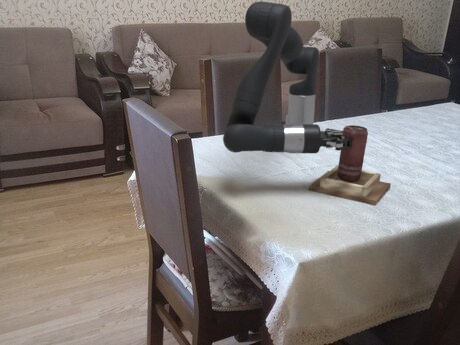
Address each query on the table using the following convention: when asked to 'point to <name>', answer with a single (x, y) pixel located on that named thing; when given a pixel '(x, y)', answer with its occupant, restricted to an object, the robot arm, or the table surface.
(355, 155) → the can
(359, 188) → the tray
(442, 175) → the table surface
